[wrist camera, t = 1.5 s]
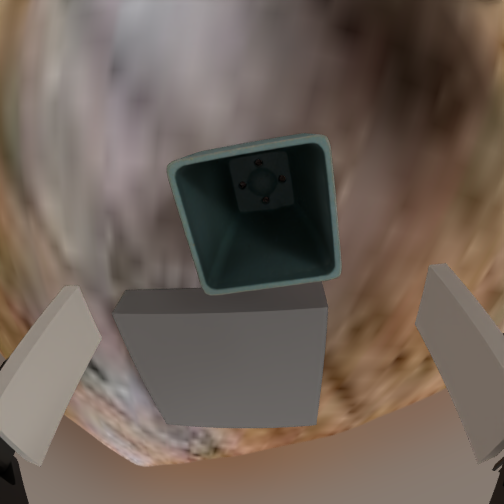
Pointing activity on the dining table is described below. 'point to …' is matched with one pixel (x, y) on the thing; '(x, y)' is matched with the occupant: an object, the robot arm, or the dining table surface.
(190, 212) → the flower pot
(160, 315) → the plinth
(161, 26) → the dining table surface
